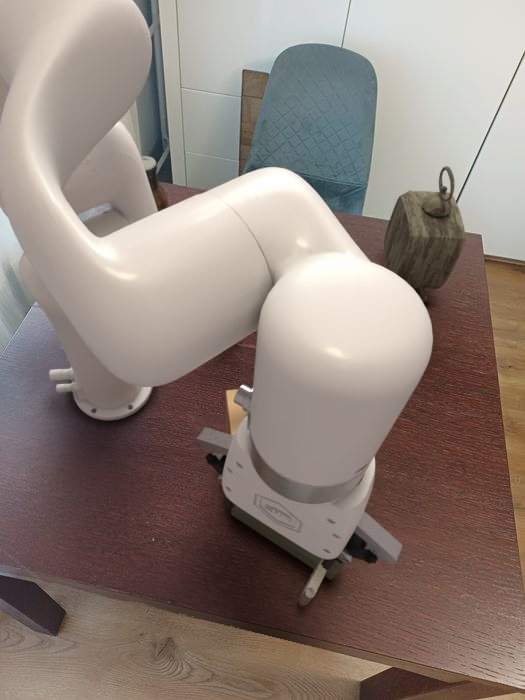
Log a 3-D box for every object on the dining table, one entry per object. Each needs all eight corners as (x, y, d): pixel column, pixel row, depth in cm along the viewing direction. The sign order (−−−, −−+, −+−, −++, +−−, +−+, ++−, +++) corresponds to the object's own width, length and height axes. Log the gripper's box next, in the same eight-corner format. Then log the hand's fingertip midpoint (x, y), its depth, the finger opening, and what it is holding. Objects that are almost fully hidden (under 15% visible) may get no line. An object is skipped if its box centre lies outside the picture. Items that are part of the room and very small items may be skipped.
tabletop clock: (432, 309, 95) (488, 202, 75) (385, 307, 95) (430, 199, 75) (418, 256, 104) (465, 147, 83) (376, 254, 103) (413, 144, 83)
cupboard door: (313, 616, 63) (335, 595, 51) (210, 546, 67) (207, 510, 55) (334, 573, 67) (360, 543, 54) (234, 508, 71) (237, 466, 58)
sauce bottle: (159, 232, 103) (147, 145, 87) (181, 247, 101) (173, 160, 85) (135, 248, 100) (118, 161, 83) (157, 264, 98) (144, 177, 81)
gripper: (158, 414, 30) (179, 505, 44) (422, 575, 26) (353, 620, 40) (226, 333, 34) (226, 440, 48) (466, 461, 30) (389, 539, 44)
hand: (283, 522), depth 44 cm, fingers open, 9 cm apart
